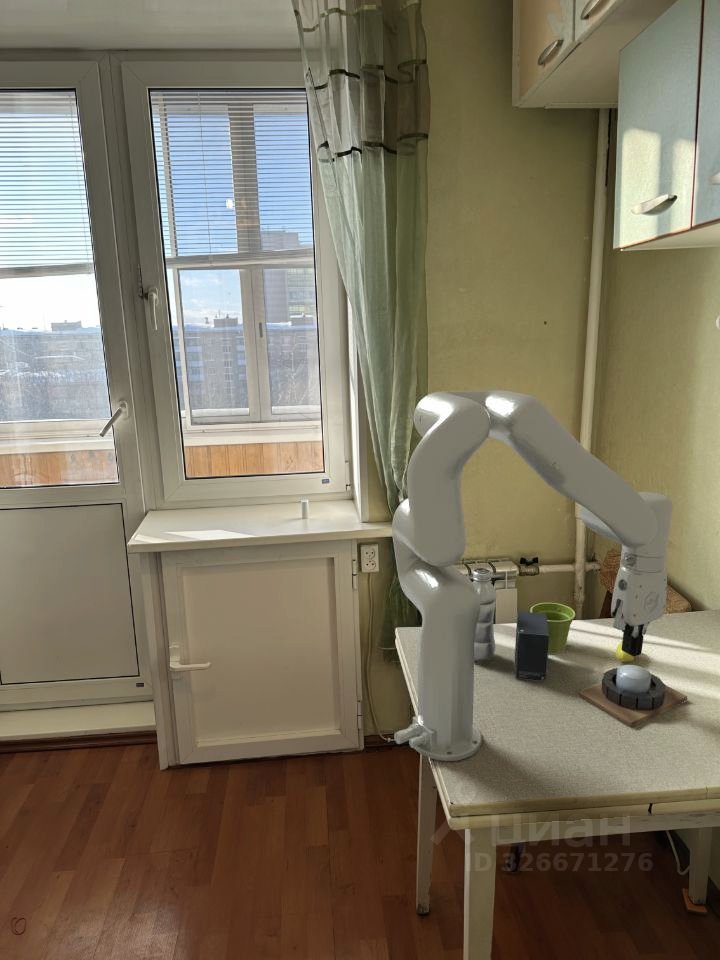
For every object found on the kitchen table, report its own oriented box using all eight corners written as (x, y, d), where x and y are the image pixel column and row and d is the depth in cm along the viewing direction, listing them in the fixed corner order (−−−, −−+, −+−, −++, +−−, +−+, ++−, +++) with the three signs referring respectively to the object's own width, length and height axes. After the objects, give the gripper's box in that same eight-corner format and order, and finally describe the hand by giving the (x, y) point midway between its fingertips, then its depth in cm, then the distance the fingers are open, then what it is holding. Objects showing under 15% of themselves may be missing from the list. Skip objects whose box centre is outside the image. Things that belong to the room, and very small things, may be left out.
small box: (548, 682, 137) (550, 634, 135) (514, 679, 139) (516, 632, 136) (544, 656, 148) (547, 612, 145) (514, 654, 149) (515, 610, 146)
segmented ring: (637, 717, 124) (639, 704, 123) (589, 689, 133) (590, 677, 132) (676, 698, 129) (677, 687, 128) (627, 673, 138) (628, 662, 138)
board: (630, 727, 122) (631, 722, 122) (578, 696, 132) (578, 691, 132) (686, 700, 130) (687, 696, 130) (633, 673, 140) (633, 669, 140)
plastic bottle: (462, 663, 146) (463, 575, 141) (467, 648, 152) (469, 563, 147) (492, 667, 144) (495, 578, 139) (497, 652, 150) (499, 566, 145)
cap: (635, 706, 127) (637, 683, 126) (608, 691, 132) (610, 669, 131) (656, 696, 130) (657, 673, 129) (628, 682, 135) (630, 660, 134)
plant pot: (572, 660, 146) (574, 623, 144) (527, 654, 148) (528, 618, 146) (573, 640, 154) (575, 605, 152) (530, 635, 157) (532, 600, 155)
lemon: (642, 654, 148) (644, 637, 147) (629, 669, 142) (631, 652, 141) (623, 648, 150) (624, 632, 150) (609, 663, 145) (610, 646, 144)
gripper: (632, 574, 117) (621, 671, 121) (687, 560, 125) (674, 652, 129) (598, 560, 124) (587, 653, 128) (651, 548, 131) (640, 636, 135)
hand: (631, 652), depth 128 cm, fingers closed
